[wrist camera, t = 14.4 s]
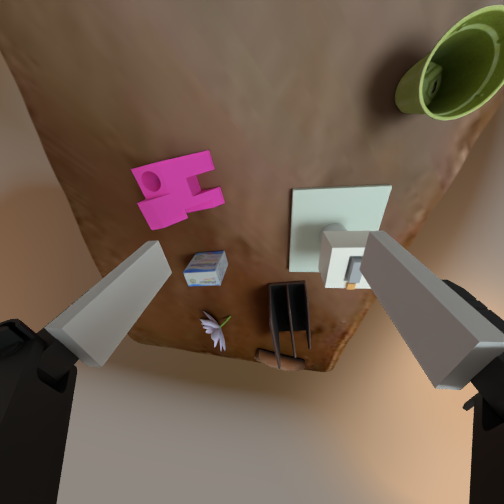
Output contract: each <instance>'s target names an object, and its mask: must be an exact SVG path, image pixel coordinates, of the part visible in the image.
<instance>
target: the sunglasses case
mask: <svg viewBox="0 0 504 504" xmlns="http://www.w3.org/2000/svg"><path fill="white" fill-rule="evenodd" d="M254 359H256V360H257V361H259V362H262V363H264V364H266V365H268V366H270V367H272V368H276V369H279V368H278V365H277V360H276V356H275V353H272V352H268V351H264V350H261V349H259V348H258V351H257V353H256V355H255V358H254ZM280 361H281V369H280V370H286V371H299V370H303V369H304V367H305V360H303V359H297V358H292V357H287V356H283V355H280Z"/></svg>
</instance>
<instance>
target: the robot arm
mask: <svg viewBox="0 0 504 504" xmlns="http://www.w3.org/2000/svg"><path fill="white" fill-rule="evenodd" d="M359 270H360V272H361V273H362V275H363V276H364V278H365V279H366V281H367V283H368V284H369V286H370V287H371V289H372V290H373V292H374V294H375V295H376V297H377V298H378V300H379V301H380V303H381V305H382V306H383V308H384V309H385V311H386V312H387V314H388V315H389V317H390V319H391V320H392V322H393V323H394V325H395V326H396V328H397V329H398V331H399V333H400V334H401V336H402V337H403V339H404V340H405V342H406V344H407V345H408V347H409V348H410V350H411V351H412V353H413V355H414V356H415V358H416V359H417V361H418V362H419V364H420V366H421V367H422V369H423V370H424V372H425V373H426V375H427V377H428V378H429V380H430V381H431V383H432V384H433V386H434V387H435V388H437V389H453V390H461V389H462V388H463V387H464V386H466V385H467V384H468V383H469V382H470V381H471V383H472V384H473V385H474V386H475V387H476V389H477V390H478V391H479V393H477V394H476V395H475V396H473V397H472V398H471V399H469V400H468V401H467V402H466V403H465V404H464V406H463V409H465V410H466V411H467V410H469V409H470V408H472V407H473V406H474V419H473V440H472V441H473V442H472V459H471V460H472V461H471V479H470V500H469V504H504V321H503V320H502V319H501V318H500V317H499V316H497V315H496V314H495V313H493V312H492V311H491V310H488V309H487V307H486V306H485V305H484V304H482V303H481V302H480V301H477V300H476V298H475V297H474V296H472V295H471V294H470V293H469V292H467V291H466V290H465V289H464V288H462V287H460V286H458V285H456V284H454V283H452V282H451V281H449V280H441V279H439V278H438V277H437V276H436V275H435V274H434V273H432V272H431V271H430V270H429V269H428V268H426V266H424V265H423V264H422V263H421V262H419V260H417V259H416V258H415V257H414V256H413V255H412V254H410V253H409V252H408V251H407V250H406V249H405V248H403V247H402V246H401V245H400V244H399V243H398V242H397V241H395V240H394V239H393V238H392V237H391V236H390V235H388V234H387V233H386V232H385V231H369V235H368V239H367V242H366V246H365V250H364V254H363V257H362V261H361V265H360V269H359ZM171 273H172V272H171V269H170V267H169V265H168V262H167V260H166V258H165V255H164V253H163V251H162V248H161V246H160V244H159V241H147V242H146V243H145V244H144V245H143V246H141V247H140V248H139V249H138V250H137V251H135V252H134V253H133V254H132V255H131V256H129V257H128V258H127V259H126V260H125V261H123V262H122V263H121V264H120V265H119V266H117V267H116V268H115V269H114V270H113V271H111V272H110V273H109V274H108V275H107V276H105V277H104V278H103V279H102V280H101V281H100V282H98V283H97V284H96V285H95V286H94V287H92V288H91V289H90V290H88V291H87V292H86V293H85V294H83V295H82V296H81V297H80V298H79V299H78V300H76V301H75V302H74V303H73V304H72V305H71V306H69V307H68V308H67V309H65V310H64V311H63V312H62V313H61V314H59V315H58V316H57V317H56V318H55V319H53V320H52V321H51V322H50V323H49V324H48V325H46V326H45V327H44V328H43V329H42V330H40V331H39V332H38V333H35V332H34V331H32V330H31V329H30V328H29V327H28V326H27V325H25V324H24V323H23V322H22V321H20V320H19V319H10V320H7V321H4V322H1V323H0V504H56V502H57V496H58V490H59V483H60V477H61V470H62V464H63V458H64V452H65V446H66V445H65V444H66V439H67V433H68V426H69V420H70V414H71V408H72V401H73V394H74V388H75V382H76V375H77V368H76V366H74V364H75V363H76V362H77V361H78V359H80V360H81V361H82V362H83V363H84V364H85V365H86V366H94V367H102V366H103V365H104V364H105V362H106V361H107V359H108V358H109V357H110V355H111V354H112V353H113V351H114V350H115V349H116V347H117V346H118V345H119V343H120V342H121V341H122V339H123V338H124V337H125V335H126V334H127V333H128V331H129V330H130V329H131V327H132V326H133V325H134V323H135V322H136V320H137V319H138V318H139V316H140V315H141V314H142V312H143V311H144V310H145V308H146V307H147V306H148V304H149V303H150V302H151V300H152V299H153V298H154V296H155V295H156V294H157V292H158V291H159V290H160V288H161V287H162V285H163V284H164V283H165V281H166V280H167V279H168V277H169V276H170V275H171Z"/></svg>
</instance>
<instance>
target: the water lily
mask: <svg viewBox="0 0 504 504" xmlns="http://www.w3.org/2000/svg"><path fill="white" fill-rule="evenodd" d="M203 312H204V313H205V314H206V316H207V317H208V318H209V319H210V320H204V319H200V320H201V321H202V322H203V323H202V324H203V325H205V326H203V328H205V329H207V330H206V333H212V334H211V338H212V339H213V340H214V347H215V346H216V344H217V342H218V339H219V338H220V349H222V346H223V348H224V350H225V340H224V336H223V333H222V330H221V327H222V326H223V325H224V324H225V323H226V322H227V321H228V320H229V319H230V317H231V316H229V317H228V318H227V319H226V320H225V321H224V323H223V324H221V325H220V326H219V325H218V323H217V322H216V321H215V319H214V318H213V317H212V316H210V315H209V314H208V313H206V312H205V311H203Z"/></svg>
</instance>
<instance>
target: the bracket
mask: <svg viewBox="0 0 504 504" xmlns="http://www.w3.org/2000/svg"><path fill="white" fill-rule="evenodd" d="M214 169H215V168H214V164H213V161H212V158H211V154H210V151H209V150H207V151H203V152H199V153H195V154H190V155H186V156H182V157H177V158H173V159H169V160H165V161H160V162H156V163H153V164H149V165H145V166H142V167H138V168H134V169H131V171H132V173H133V175H134V177H135V179H136V181H137V182H138V184H139V186H140V188H141V190H142V192H143V194H144V196H145V198H146V199H145V200H143V201H141V202H139V203H137V204H138V206H139V208H140V210H141V211H142V213H143V215H144V217H145V219H146V221H147V223H148V224H149V226H150V228H151V230H156V229H161V228H165V227H167V226H170V225H172V224H175V223H177V222H180V221H182V220H184V219H187V218H188V217H187V214H186V213H188V212H193V211H198V210H203V209H208V208H213V207H216V206H219V205H221V204H224V203H225V201H224V198H223V194H222V191H221V188H220V187H216V188H211V189H207V190H202V191H201V188H200V185H199V182H198V179H197V176H196V175H197V174H201V173H204V172H208V171H211V170H214Z"/></svg>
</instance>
